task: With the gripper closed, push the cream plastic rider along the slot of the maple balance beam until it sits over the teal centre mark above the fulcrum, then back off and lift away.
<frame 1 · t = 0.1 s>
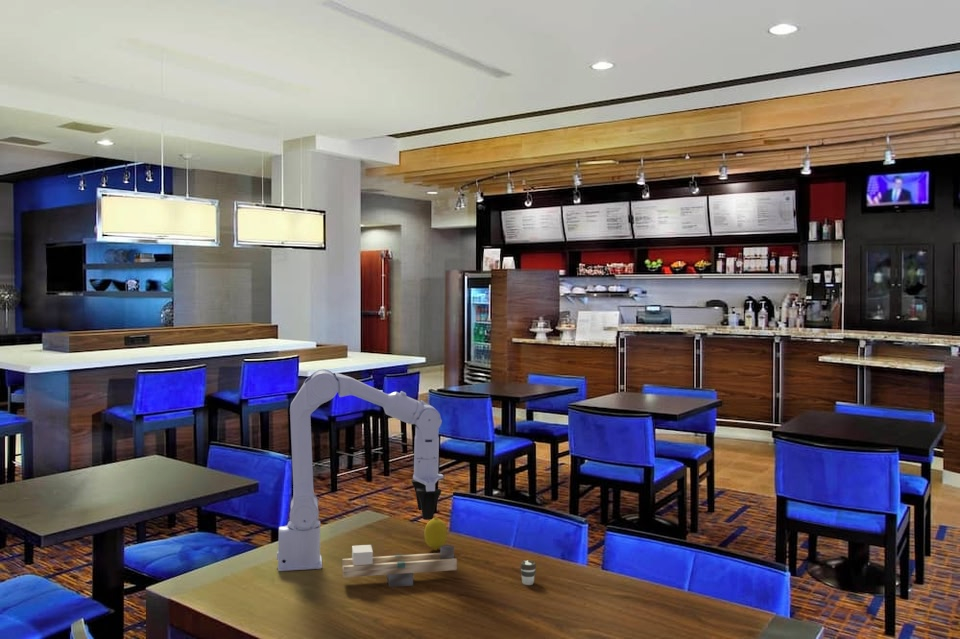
hand: (425, 514, 175), 10 cm above the table, tool pointing down, fingers open, 7 cm apart
lemon: (435, 551, 180), on the table
beam: (399, 580, 160), on the table
rider: (362, 557, 158), point 6 cm above the table, slide at 0.0 cm
coffee cup: (528, 585, 161), on the table
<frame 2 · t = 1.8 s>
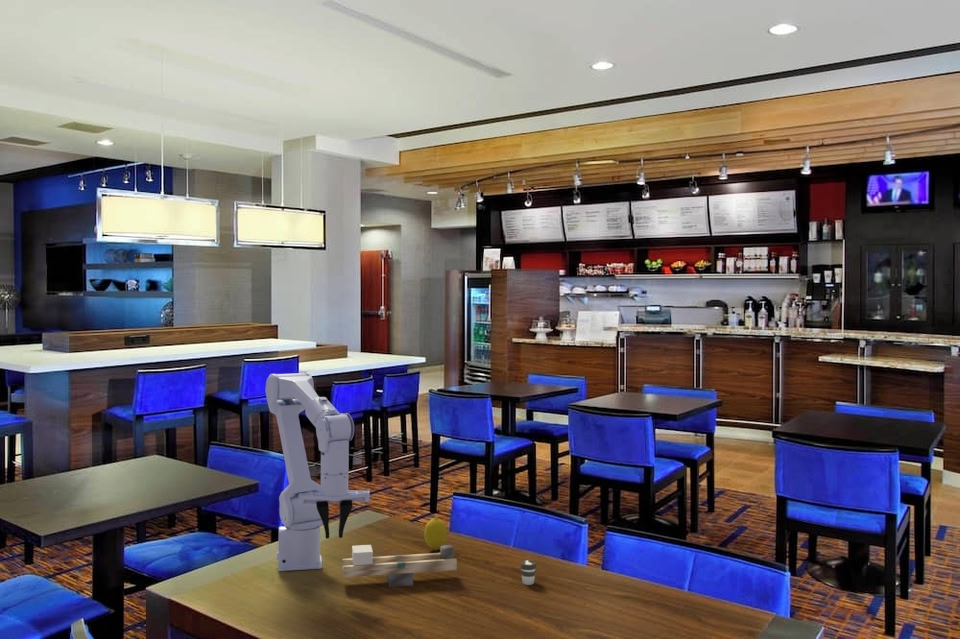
hand: (333, 536, 157), 10 cm above the table, tool pointing down, fingers closed
nothing on the table moved.
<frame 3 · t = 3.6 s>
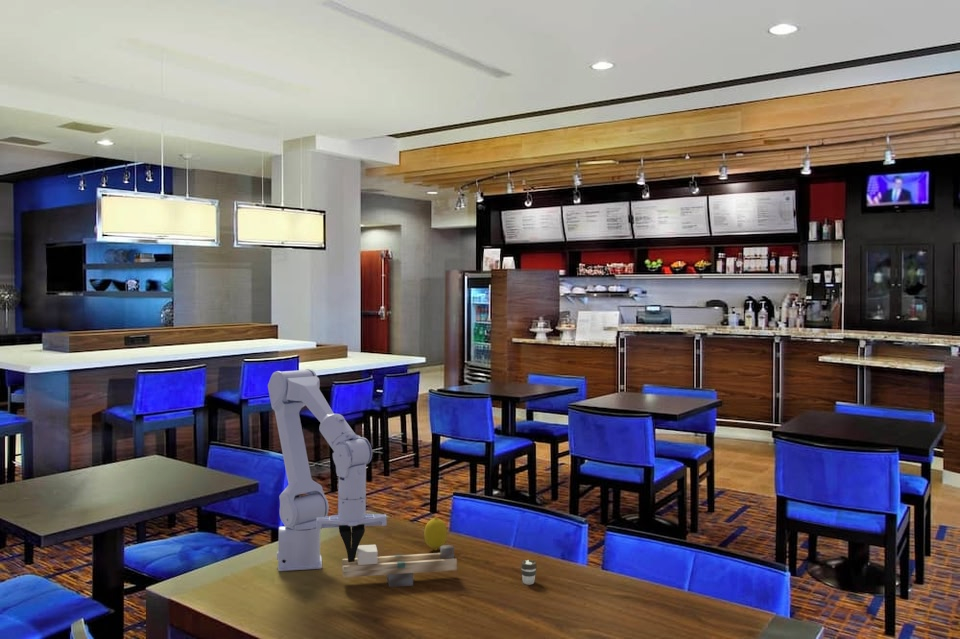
hand: (351, 560, 158), 5 cm above the table, tool pointing down, fingers closed
rider: (367, 557, 158), point 6 cm above the table, slide at 1.0 cm, touching gripper
everything else where it was.
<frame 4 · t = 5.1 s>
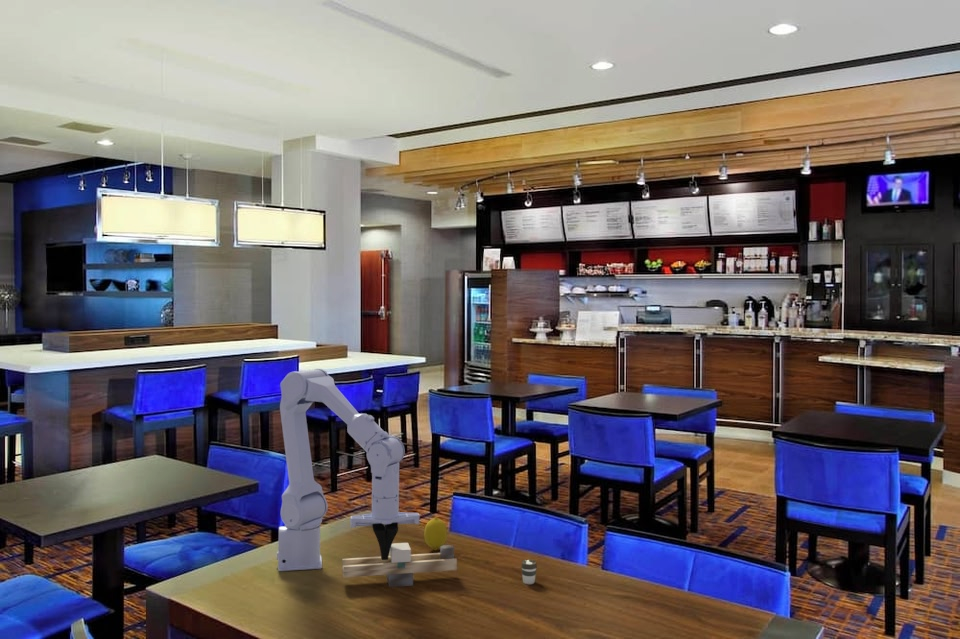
hand: (384, 558, 159), 5 cm above the table, tool pointing down, fingers closed
rider: (400, 555, 160), point 6 cm above the table, slide at 8.0 cm, touching gripper
everything else where it was.
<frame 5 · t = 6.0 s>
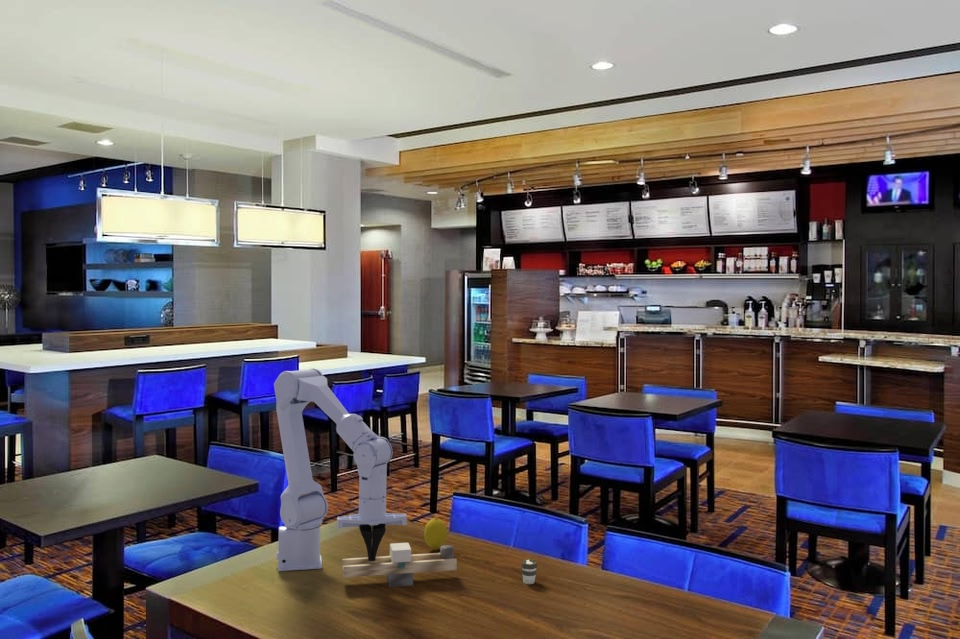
hand: (371, 559, 159), 5 cm above the table, tool pointing down, fingers closed
rider: (400, 555, 160), point 6 cm above the table, slide at 8.1 cm
everything else where it was.
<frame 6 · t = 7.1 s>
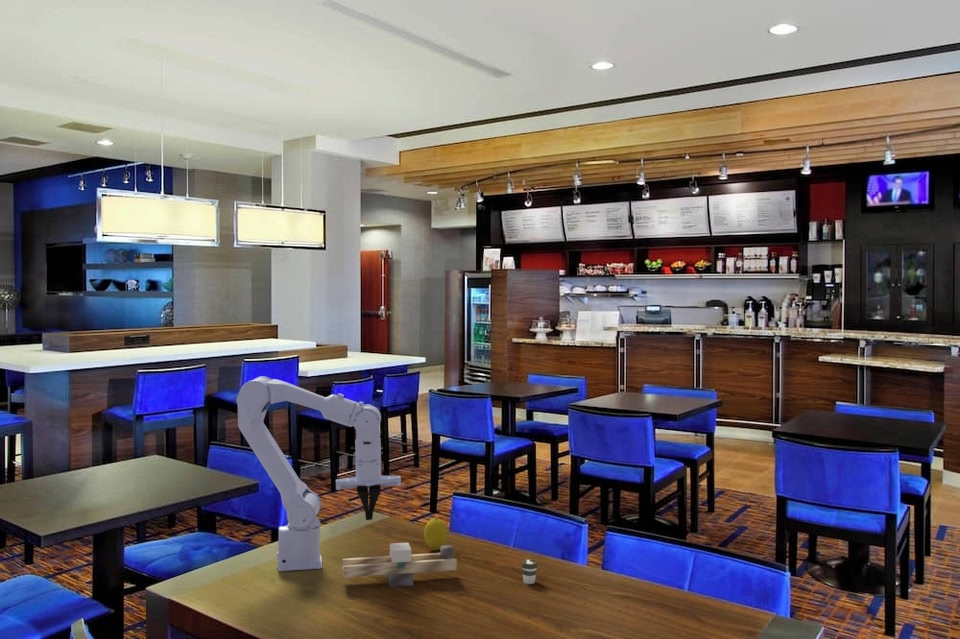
hand: (368, 518, 170), 10 cm above the table, tool pointing down, fingers closed
nothing on the table moved.
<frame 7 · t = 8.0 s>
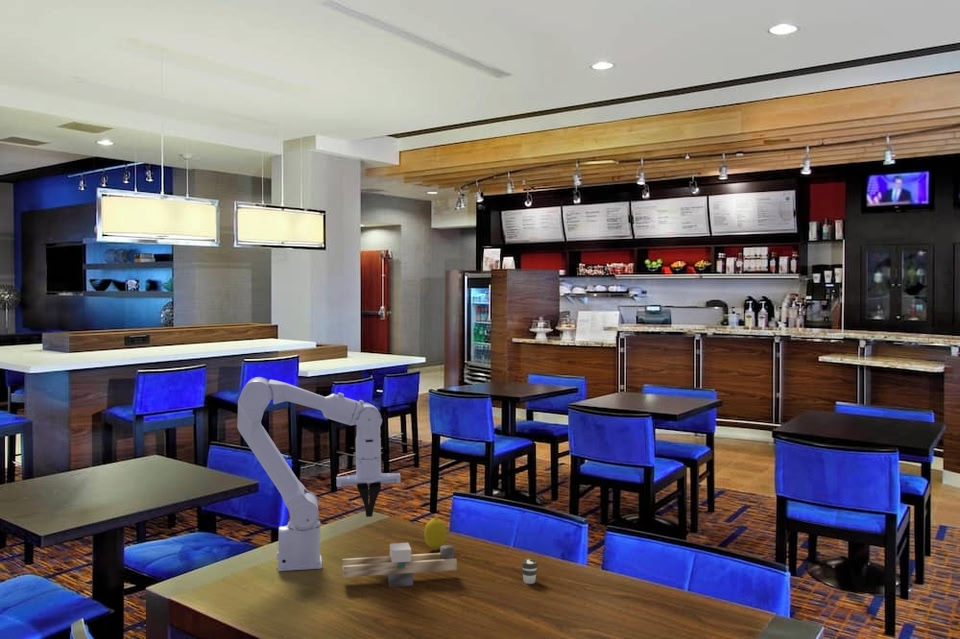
hand: (369, 515, 172), 10 cm above the table, tool pointing down, fingers closed
nothing on the table moved.
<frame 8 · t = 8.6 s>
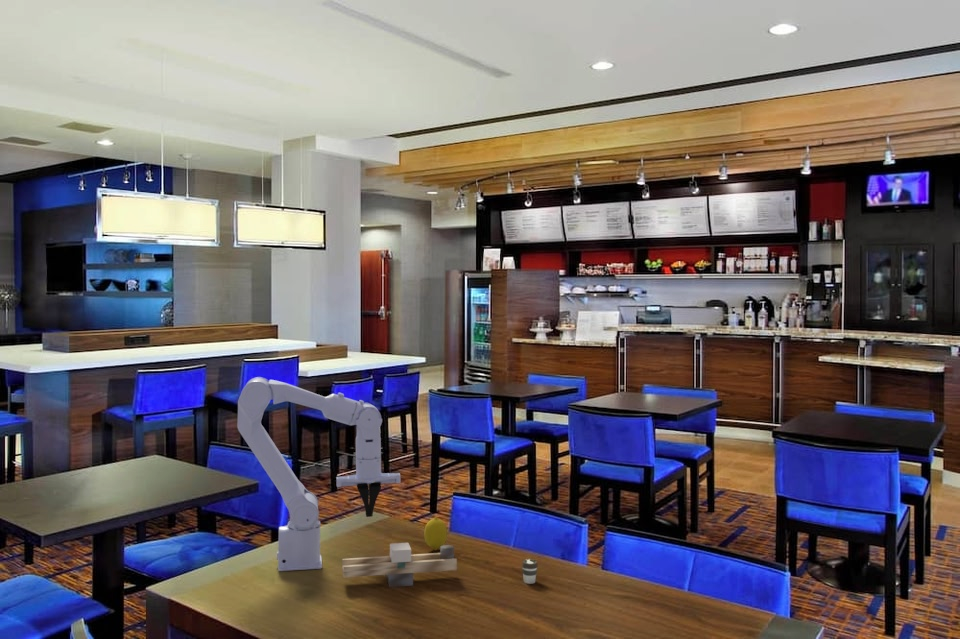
hand: (369, 515, 172), 10 cm above the table, tool pointing down, fingers closed
nothing on the table moved.
at the end: rider slide at 8.1 cm; rider touching nothing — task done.
